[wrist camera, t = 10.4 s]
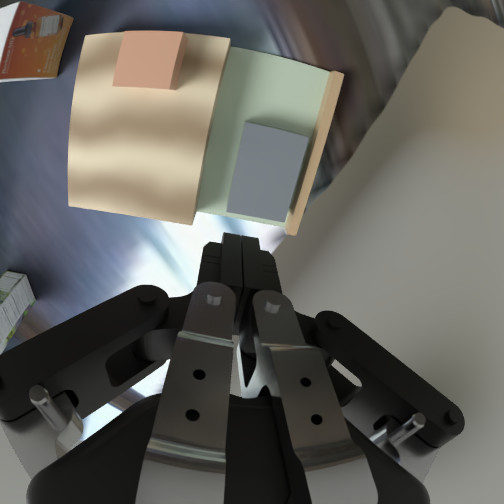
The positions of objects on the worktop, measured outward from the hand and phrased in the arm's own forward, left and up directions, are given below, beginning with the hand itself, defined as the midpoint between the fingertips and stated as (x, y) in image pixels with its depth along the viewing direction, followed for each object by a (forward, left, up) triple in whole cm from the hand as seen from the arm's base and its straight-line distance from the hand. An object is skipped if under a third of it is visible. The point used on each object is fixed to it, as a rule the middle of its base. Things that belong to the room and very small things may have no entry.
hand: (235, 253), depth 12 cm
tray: (-3, +2, -18) cm, 18 cm away
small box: (-12, -25, -18) cm, 33 cm away
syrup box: (+24, -33, -18) cm, 45 cm away
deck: (-3, -10, -18) cm, 21 cm away
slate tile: (0, +3, -15) cm, 15 cm away
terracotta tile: (-9, -9, -14) cm, 19 cm away
